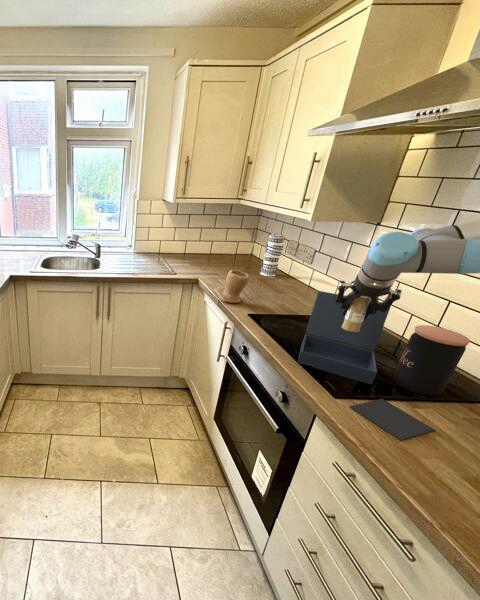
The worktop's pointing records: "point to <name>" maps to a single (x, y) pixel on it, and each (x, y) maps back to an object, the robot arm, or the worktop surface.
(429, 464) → the worktop surface
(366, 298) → the sprinkles bottle
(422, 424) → the mat
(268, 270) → the leaning tower model
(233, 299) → the stone cup
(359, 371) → the chest
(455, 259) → the robot arm
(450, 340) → the coffee jar
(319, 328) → the chest lid
